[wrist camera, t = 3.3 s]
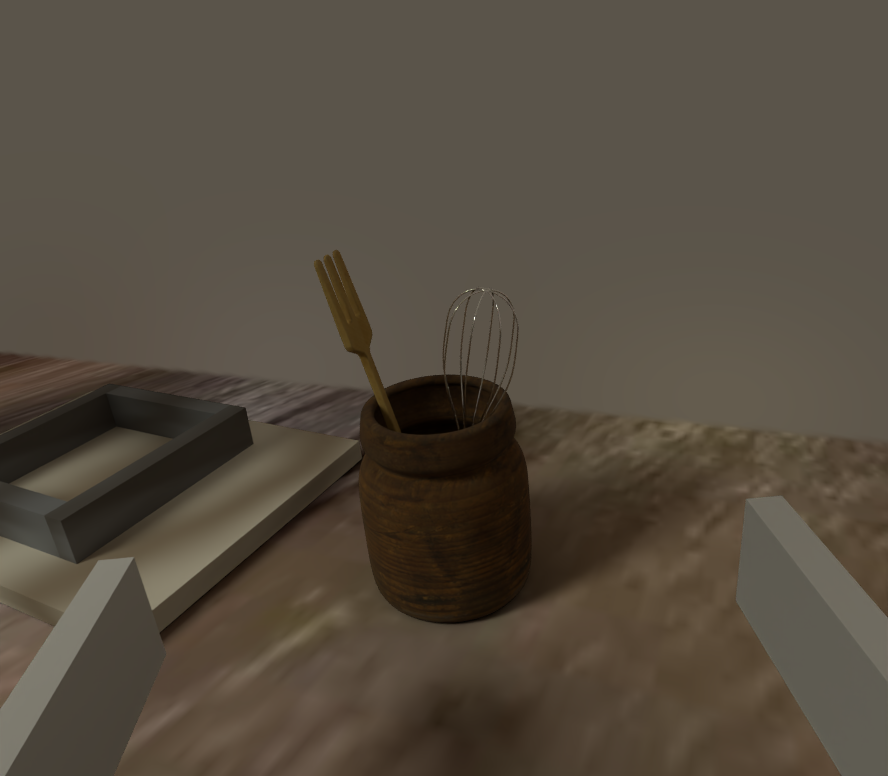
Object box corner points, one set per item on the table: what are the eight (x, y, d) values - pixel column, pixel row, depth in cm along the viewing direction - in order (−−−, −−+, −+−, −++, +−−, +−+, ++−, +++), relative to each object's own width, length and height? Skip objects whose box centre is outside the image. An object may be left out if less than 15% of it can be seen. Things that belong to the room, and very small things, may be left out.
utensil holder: (511, 645, 23) (487, 284, 18) (337, 611, 25) (273, 281, 20) (549, 536, 28) (539, 231, 23) (402, 516, 30) (364, 234, 25)
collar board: (-161, 531, 33) (-190, 476, 31) (97, 405, 44) (82, 360, 43) (128, 658, 24) (103, 588, 22) (361, 458, 35) (353, 403, 33)
